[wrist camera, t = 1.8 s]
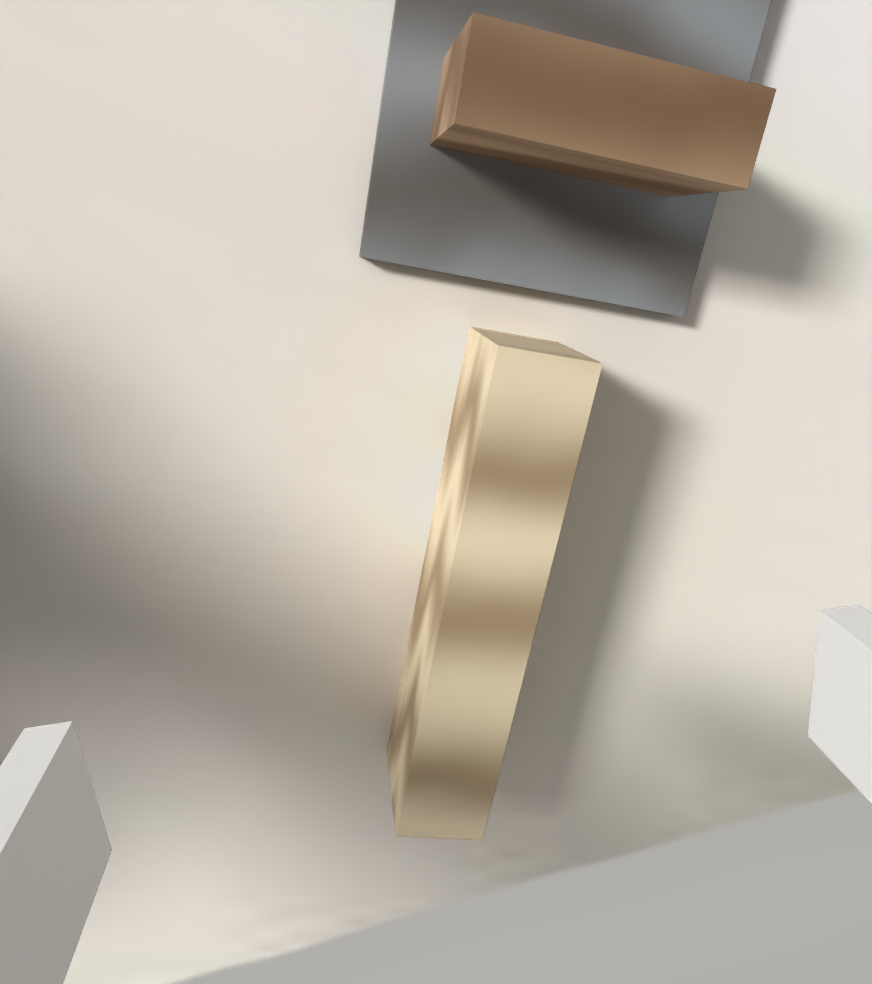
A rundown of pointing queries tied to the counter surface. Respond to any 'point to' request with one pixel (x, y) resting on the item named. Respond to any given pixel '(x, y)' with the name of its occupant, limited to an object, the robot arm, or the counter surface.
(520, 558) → the beech bar
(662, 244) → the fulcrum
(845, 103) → the counter surface
